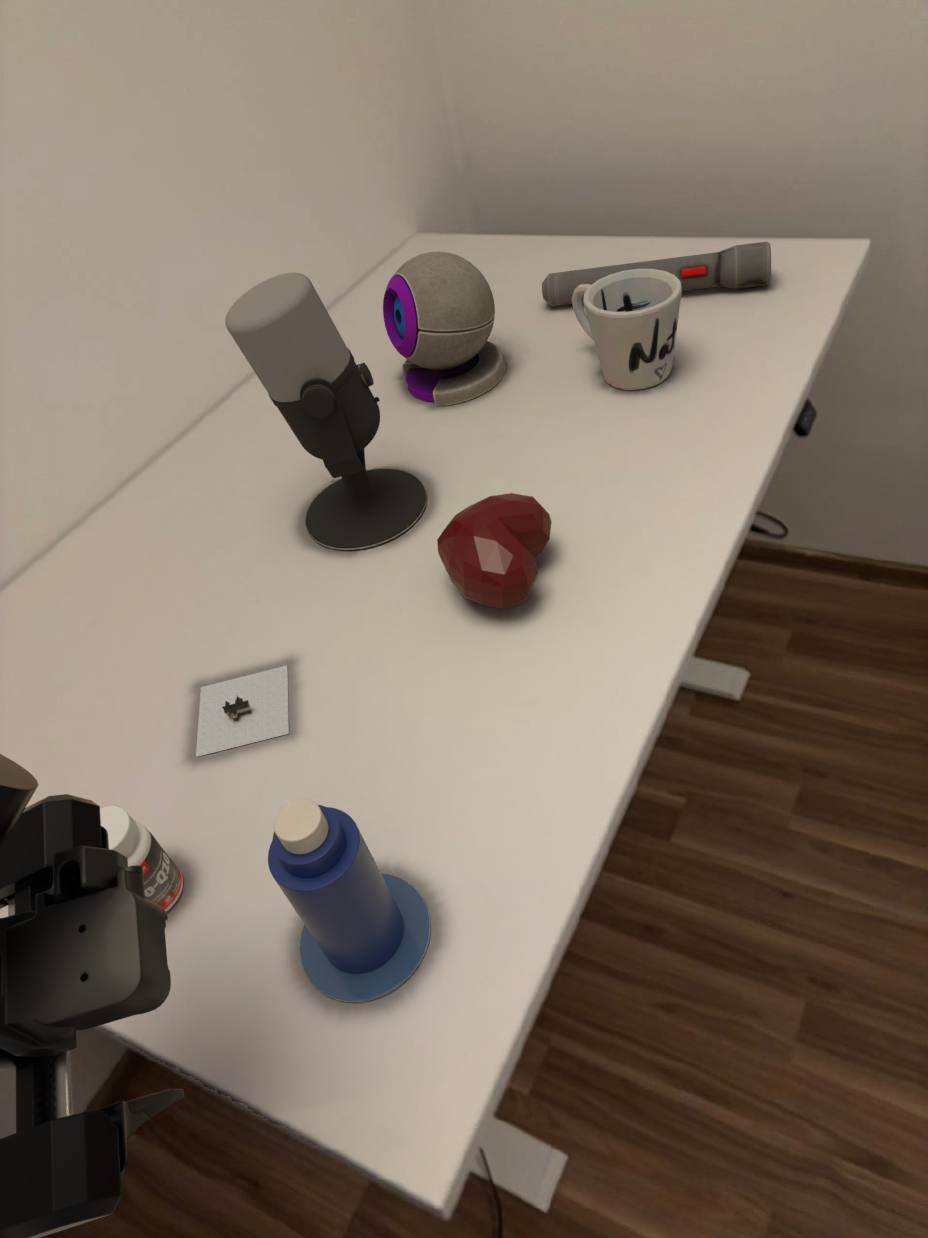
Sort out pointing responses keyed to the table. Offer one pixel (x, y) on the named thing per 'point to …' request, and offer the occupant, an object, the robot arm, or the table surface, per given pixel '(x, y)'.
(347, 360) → the microphone
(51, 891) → the robot arm
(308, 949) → the blue coaster
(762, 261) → the flashlight
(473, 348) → the webcam
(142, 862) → the pill bottle
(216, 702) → the grey square plate
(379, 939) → the blue bottle
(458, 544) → the heart
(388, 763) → the table surface
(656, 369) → the mug
